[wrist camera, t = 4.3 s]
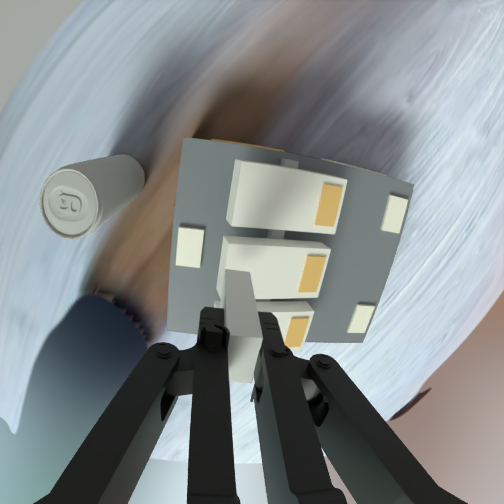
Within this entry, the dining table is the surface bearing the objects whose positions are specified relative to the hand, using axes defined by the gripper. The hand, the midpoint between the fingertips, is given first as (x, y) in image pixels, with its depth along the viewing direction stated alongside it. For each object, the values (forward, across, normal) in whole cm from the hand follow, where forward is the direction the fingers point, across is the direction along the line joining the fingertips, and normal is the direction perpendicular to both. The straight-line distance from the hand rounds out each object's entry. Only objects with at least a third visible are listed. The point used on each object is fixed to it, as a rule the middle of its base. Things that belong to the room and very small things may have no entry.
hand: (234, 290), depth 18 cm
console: (+13, +5, 0) cm, 13 cm away
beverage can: (+13, -11, +4) cm, 17 cm away
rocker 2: (+4, +3, 0) cm, 5 cm away
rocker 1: (+4, +3, +5) cm, 7 cm away
